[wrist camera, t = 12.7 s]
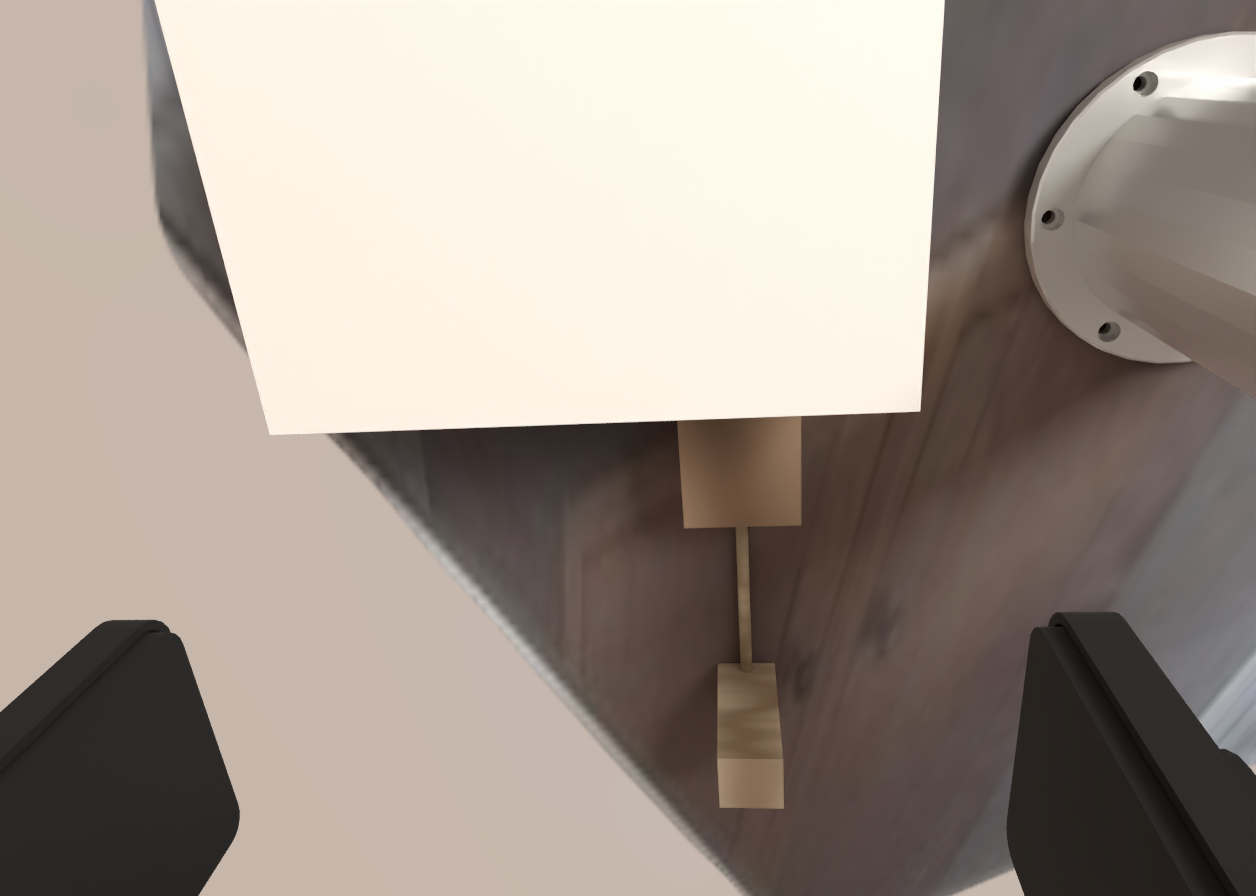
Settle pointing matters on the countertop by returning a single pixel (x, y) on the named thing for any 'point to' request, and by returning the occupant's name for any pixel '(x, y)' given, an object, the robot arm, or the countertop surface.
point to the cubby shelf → (567, 205)
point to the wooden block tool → (744, 581)
